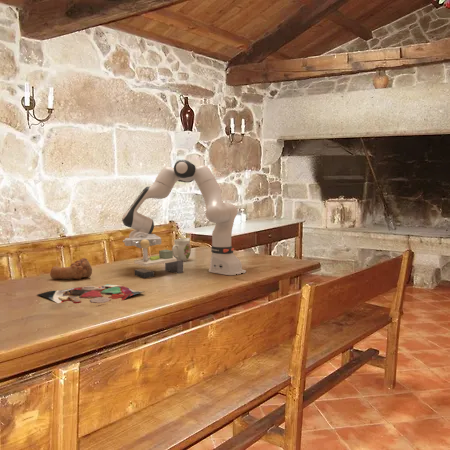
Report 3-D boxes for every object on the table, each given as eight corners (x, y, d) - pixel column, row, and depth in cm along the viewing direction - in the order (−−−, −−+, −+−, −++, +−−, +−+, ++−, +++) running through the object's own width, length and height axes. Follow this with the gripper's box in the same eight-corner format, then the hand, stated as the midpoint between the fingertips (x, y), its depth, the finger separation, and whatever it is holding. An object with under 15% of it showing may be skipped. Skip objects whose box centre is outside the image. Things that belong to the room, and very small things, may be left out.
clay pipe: (82, 289, 240) (98, 274, 253) (79, 270, 235) (94, 257, 248) (51, 285, 245) (68, 271, 258) (47, 267, 241) (64, 254, 254)
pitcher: (165, 261, 296) (165, 240, 294) (182, 257, 311) (182, 237, 309) (179, 263, 290) (179, 241, 288) (196, 259, 305) (196, 238, 304)
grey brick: (183, 272, 264) (183, 260, 264) (145, 278, 248) (145, 265, 247) (170, 269, 273) (170, 257, 272) (133, 274, 257) (133, 262, 256)
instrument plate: (164, 258, 269) (163, 235, 268) (176, 261, 261) (176, 237, 259) (134, 263, 256) (133, 238, 254) (146, 266, 247) (145, 241, 246)
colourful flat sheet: (102, 283, 238) (102, 280, 238) (145, 296, 215) (145, 292, 215) (36, 296, 212) (36, 292, 212) (78, 312, 189) (78, 307, 189)
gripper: (121, 235, 261) (126, 238, 248) (157, 233, 268) (163, 236, 255) (122, 246, 261) (126, 250, 248) (157, 244, 269) (163, 248, 256)
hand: (145, 243), depth 252 cm, fingers open, 8 cm apart
